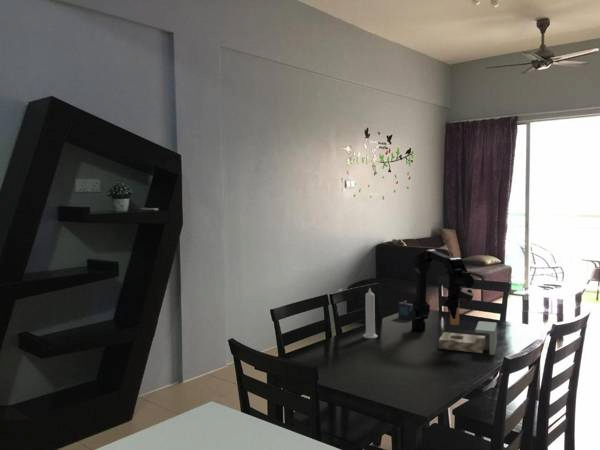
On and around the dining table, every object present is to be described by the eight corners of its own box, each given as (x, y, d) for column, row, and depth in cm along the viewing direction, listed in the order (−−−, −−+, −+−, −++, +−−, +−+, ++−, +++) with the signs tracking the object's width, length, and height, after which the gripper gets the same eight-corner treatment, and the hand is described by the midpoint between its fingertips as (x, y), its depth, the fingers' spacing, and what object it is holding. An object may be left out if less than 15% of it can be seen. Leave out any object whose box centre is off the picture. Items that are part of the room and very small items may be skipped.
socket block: (439, 348, 231) (438, 339, 230) (443, 340, 243) (443, 332, 243) (482, 353, 223) (482, 344, 222) (485, 344, 235) (485, 336, 235)
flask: (413, 319, 284) (413, 301, 283) (410, 320, 282) (410, 302, 281) (400, 317, 291) (399, 299, 290) (397, 318, 289) (396, 299, 288)
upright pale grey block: (475, 353, 223) (475, 329, 222) (478, 343, 237) (478, 321, 237) (494, 355, 220) (494, 331, 219) (496, 344, 234) (496, 322, 233)
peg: (449, 324, 233) (449, 303, 232) (450, 322, 236) (450, 301, 236) (458, 325, 231) (458, 304, 230) (459, 323, 234) (459, 302, 234)
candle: (377, 339, 248) (376, 289, 246) (362, 338, 249) (362, 288, 248) (377, 335, 254) (377, 286, 253) (363, 334, 256) (363, 286, 254)
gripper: (469, 288, 221) (470, 323, 221) (474, 282, 238) (475, 314, 238) (444, 287, 226) (444, 321, 226) (450, 281, 242) (451, 313, 243)
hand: (454, 317), depth 233 cm, fingers closed on peg, 4 cm apart
